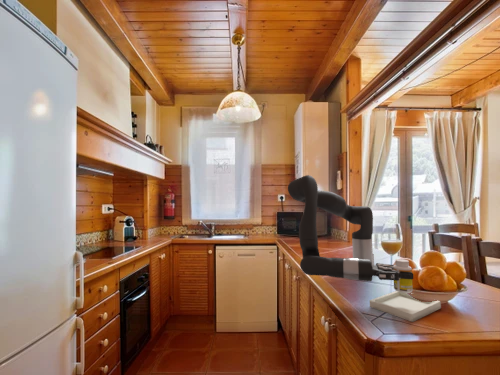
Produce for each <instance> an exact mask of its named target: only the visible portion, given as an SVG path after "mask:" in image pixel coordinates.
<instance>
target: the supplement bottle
mask: <svg viewBox="0 0 500 375" xmlns="http://www.w3.org/2000/svg"><path fill="white" fill-rule="evenodd" d="M394 262H395V263H394V264H393V265H394V266H393V270H396V271H404V272H412V273H413V268H412V267H411V266H410V261H409V260H407V259H403V258H397V259H395V260H394ZM393 276H395V274H393ZM413 288H414V287H413V279H401V278H400V279H399V280H398V281H396V280H393V289H394V290H395V291H398V292H402V293H411V294H412V293H413V290H414V289H413Z"/></svg>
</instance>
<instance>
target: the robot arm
mask: <svg viewBox="0 0 500 375" xmlns="http://www.w3.org/2000/svg"><path fill="white" fill-rule="evenodd" d="M287 191H288V195H289V196H290V197H291V198H292V199H293V200H295V201H298V202H301V203H304V204H305V205H304V209H303V213H302V216H301V218H300V222H299V224H298V225H299V226H298V235H299V236H298V237H299V246H300V248H301V254H302V258H301V260H300V263H299V264H300V269H301V271H302V272H303V273H304V274H306V275H309V276H320V277H321V276H328V277H331V278H337V279H339V278H340V279H347V280H352V281H363V282H372V281H373V276H374V277H376V278H378V280H381V281H394V280H396V281H398V280H399V279H400V278H401V279H412V280H413V279H414V273H413V271H412V272H404V271H396V270H393V266H394V265H395V264H387V263H380V262H379V263H378V262H376V263H375V255H374V252H373V249H374V248H373V233H374V229H373V228H374V226H373V225H374V216H373V215H374V214H373V213H374V212H373V210H372V209H371V207H370V206H366V205H365V206H361V205H360V206H358V205H356V206H354V205H353V206H352V205H350V204H347V201H346V200H345V198H344V197H343V196H341V195H339V194H337V193H336V192H332V191H328V190H319V188H318V183H317V181H316V178H314V177H313V175H309V174H307V175H304V176H301V177H298V178H296V179H294V180H292V181H290V183H289V184H288V186H287ZM318 209H320V210H323V211H325V212H326V213H330V214H332V215H334V216H338V217H340V218H343V219H344V220H345V221H347V222H349V223H350V224H353V225H358V226H359V225H360V227H359V229H358V230H357V231H352V233H351V243H352V244H351V245H352V257H325V256H321V255H320V251H319V241H318V240H319V239H318V231H317V230H318V229H317V228H318V227H317V214H318V213H317V212H318ZM393 274H395V276H393Z"/></svg>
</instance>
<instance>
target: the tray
mask: <svg viewBox="0 0 500 375" xmlns="http://www.w3.org/2000/svg"><path fill="white" fill-rule="evenodd" d="M369 308H371V309H375V310H378V311H381V312H384V313H386V314H389V315H391V316H395V317H398V318H400V319H403V320H406V321H409V322H411V323H413V322H415V321H418V320H420V319H422V318H424V317H426V316H428V315H431V314H432V313H434V312H436V311H438V310H440V309H441V308H442V303H441V301H440V300H437V301H432V302H421V301H419V300H417V299H415V298H413V297H411V296H409V295H408V294H407V293H402V292H398V291H396V290H395V291H392V292H389V293H386V294H384V295H380V296H377V297H375V298H372V299H369Z"/></svg>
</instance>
